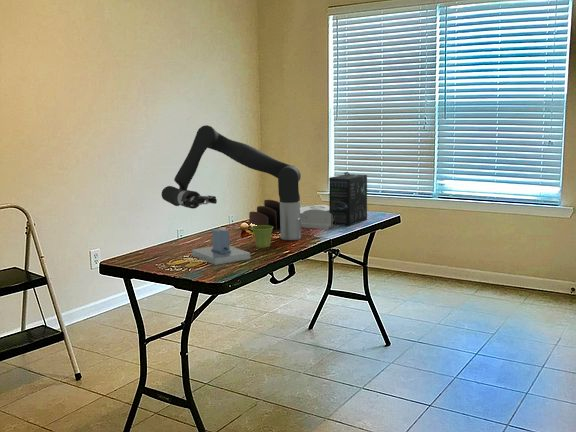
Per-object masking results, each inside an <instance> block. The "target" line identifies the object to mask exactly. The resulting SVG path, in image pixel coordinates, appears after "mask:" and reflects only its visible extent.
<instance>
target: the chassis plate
mask: <svg viewBox="0 0 576 432" xmlns="http://www.w3.org/2000/svg"><path fill="white" fill-rule="evenodd" d="M229 247H230V250H231V252H229V253H223V254H218V253H215V252H213V250H211V249H212V248H213V246H207V247H201V248H195V249H191V256H192V257H194V258H197V259H200V260H201V261H204V262H207V263H209V264H211V265H214V266H218V265H222V264H223V265H224V264H229V263H234V262H235V263H236V262H239V261H240V262H242V261H245V260H246V261H247V260H251V252H249V251H246V250H242V249H241V248H238V247H234V246H231V245H229Z"/></svg>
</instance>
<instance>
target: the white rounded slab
mask: <svg viewBox="0 0 576 432" xmlns="http://www.w3.org/2000/svg"><path fill="white" fill-rule="evenodd" d="M312 209H319V210H324V211H327V212H329V205H327V204H318V205H308V206H300V217H301V219H302V215H303V212H304V211H307V210H312Z"/></svg>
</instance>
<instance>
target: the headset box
mask: <svg viewBox="0 0 576 432" xmlns="http://www.w3.org/2000/svg"><path fill="white" fill-rule="evenodd" d="M328 180H329V181H328V183H329V184H328V185H329V188H328V190H329V194H328V195H329V199H328V200H329V205H328V206H329V213H331V214H332V216H333V223H332V225H336V226H347V227H349V226H351V225H354V224H357V223H360V222H363V221H366V220H368V175H367V174H351V173H349V172H348V171H346V172H343V174H341V175H335V176H330V177H329V178H328Z"/></svg>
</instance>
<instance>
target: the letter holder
mask: <svg viewBox="0 0 576 432" xmlns="http://www.w3.org/2000/svg"><path fill="white" fill-rule="evenodd" d="M263 202H264V203H263V204H264V205H258V206H257V207H256V211H250V212H249V214H248V215H249V217H248V218H249V220H248V221H249V223H252V224H255V225H257V226H258V225H269V226H273V229H272V233H278V232H280V201H277V200H274V199H265V200H264V201H263ZM249 223H248V224H249Z"/></svg>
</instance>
